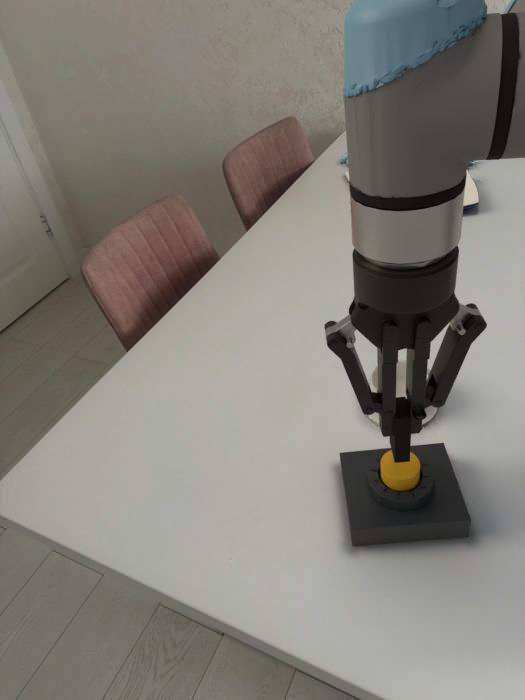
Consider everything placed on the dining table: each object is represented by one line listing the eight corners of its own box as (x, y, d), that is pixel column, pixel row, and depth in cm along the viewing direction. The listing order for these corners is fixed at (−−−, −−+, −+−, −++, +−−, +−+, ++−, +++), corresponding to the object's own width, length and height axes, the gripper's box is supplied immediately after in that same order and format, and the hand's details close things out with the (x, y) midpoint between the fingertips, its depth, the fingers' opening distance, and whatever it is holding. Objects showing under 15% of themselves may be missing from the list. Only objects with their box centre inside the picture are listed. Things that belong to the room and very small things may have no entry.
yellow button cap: (414, 458, 55) (415, 446, 53) (423, 489, 52) (424, 477, 50) (377, 462, 55) (377, 450, 54) (384, 493, 52) (384, 481, 51)
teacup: (390, 442, 63) (389, 417, 60) (347, 395, 70) (346, 371, 67) (454, 411, 65) (457, 385, 62) (407, 368, 72) (407, 343, 69)
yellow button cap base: (441, 459, 59) (444, 432, 56) (468, 537, 52) (473, 509, 49) (341, 469, 61) (338, 442, 58) (351, 546, 53) (349, 520, 50)
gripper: (480, 209, 38) (454, 417, 53) (311, 233, 40) (331, 430, 54) (518, 256, 33) (477, 476, 47) (318, 283, 34) (339, 488, 49)
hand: (399, 451), depth 51 cm, fingers closed
